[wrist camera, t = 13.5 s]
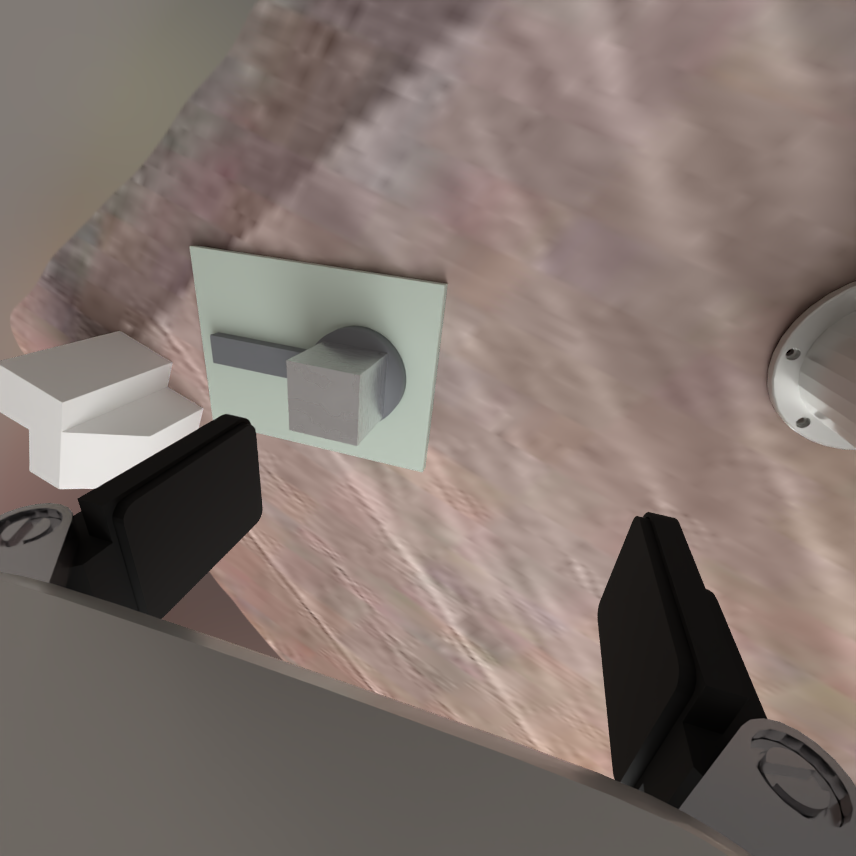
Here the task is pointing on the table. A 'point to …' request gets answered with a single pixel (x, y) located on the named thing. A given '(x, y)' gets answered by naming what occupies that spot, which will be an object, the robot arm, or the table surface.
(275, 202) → the table surface
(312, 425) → the brushed aluminum cube
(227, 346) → the board
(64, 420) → the corner bracket
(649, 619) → the robot arm
